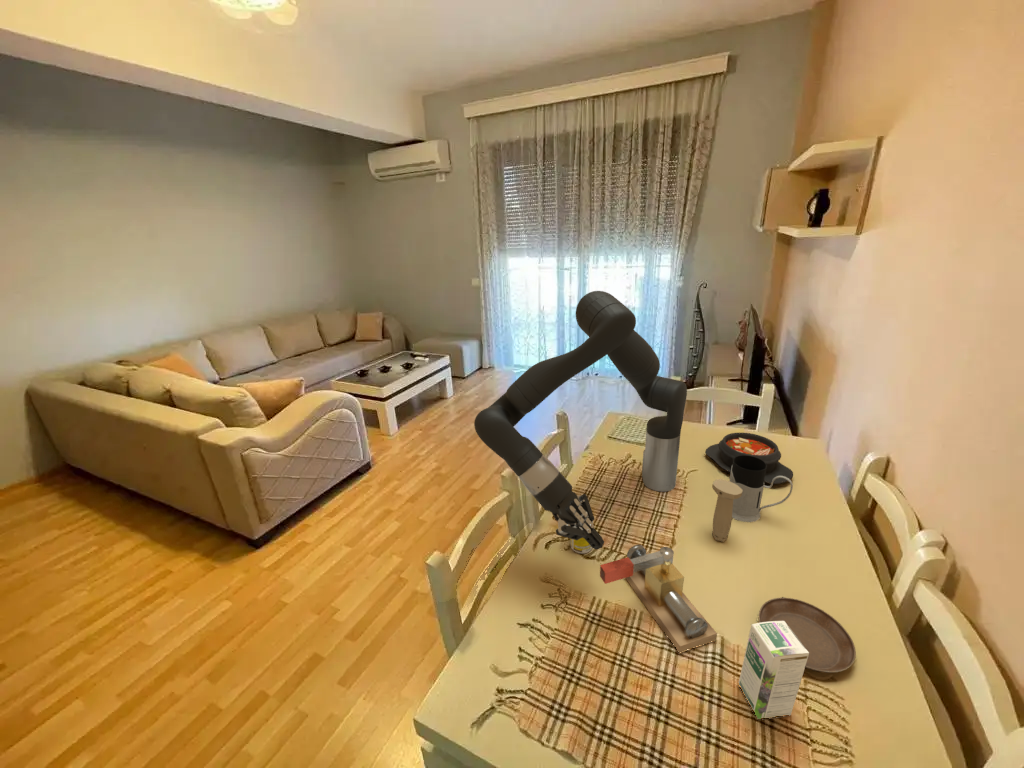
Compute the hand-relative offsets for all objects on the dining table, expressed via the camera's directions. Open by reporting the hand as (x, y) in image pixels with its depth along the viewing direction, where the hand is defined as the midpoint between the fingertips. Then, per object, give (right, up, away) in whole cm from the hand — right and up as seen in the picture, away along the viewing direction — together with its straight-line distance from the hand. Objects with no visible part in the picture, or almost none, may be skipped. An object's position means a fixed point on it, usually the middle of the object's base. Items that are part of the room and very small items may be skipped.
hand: (600, 546), depth 87 cm
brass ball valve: (+13, -10, 0) cm, 17 cm away
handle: (+33, -5, +17) cm, 37 cm away
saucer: (+36, -15, -9) cm, 40 cm away
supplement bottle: (-1, -7, +17) cm, 18 cm away
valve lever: (+6, -3, -4) cm, 8 cm away
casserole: (+55, +7, +45) cm, 71 cm away
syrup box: (+23, -19, -18) cm, 35 cm away
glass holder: (+45, -1, +24) cm, 51 cm away
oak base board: (+13, -12, +1) cm, 18 cm away
